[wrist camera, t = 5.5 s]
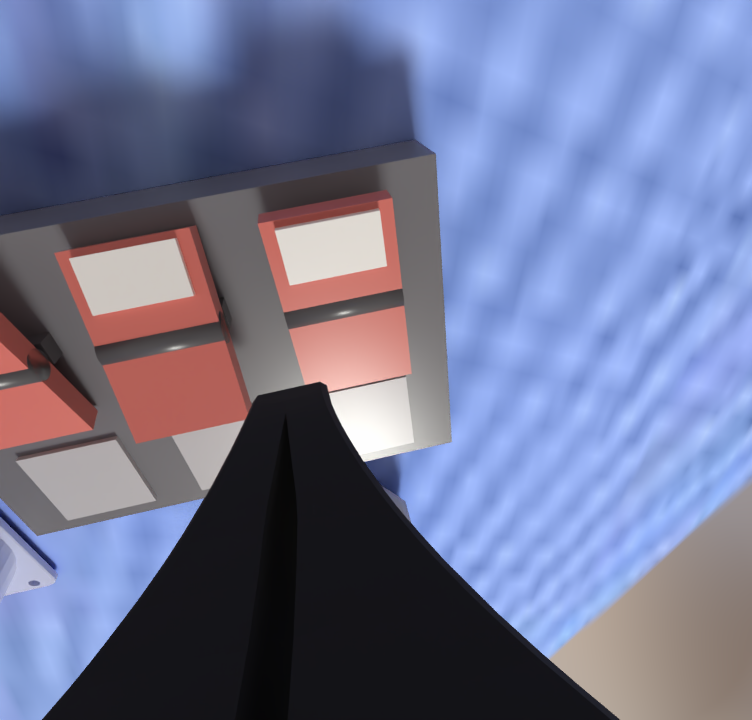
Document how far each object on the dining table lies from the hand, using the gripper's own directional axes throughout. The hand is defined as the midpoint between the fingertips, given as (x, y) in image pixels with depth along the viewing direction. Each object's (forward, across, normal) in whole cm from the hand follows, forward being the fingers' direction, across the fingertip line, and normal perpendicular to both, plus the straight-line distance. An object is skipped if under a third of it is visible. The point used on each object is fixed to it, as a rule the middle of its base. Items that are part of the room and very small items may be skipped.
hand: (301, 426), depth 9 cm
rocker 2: (+6, +4, 0) cm, 7 cm away
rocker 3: (+6, -2, 0) cm, 6 cm away
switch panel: (+10, +4, +3) cm, 11 cm away
